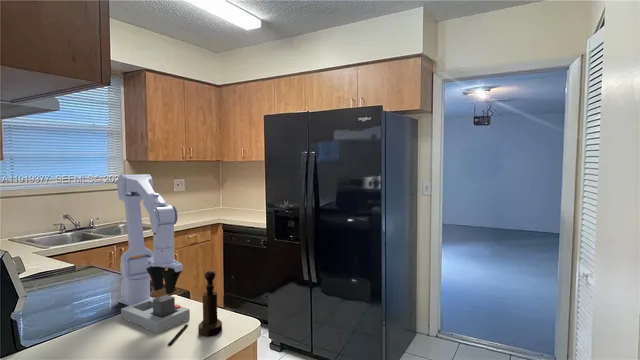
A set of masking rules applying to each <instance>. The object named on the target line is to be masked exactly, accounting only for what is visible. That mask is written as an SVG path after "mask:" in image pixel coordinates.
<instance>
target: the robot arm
mask: <svg viewBox="0 0 640 360" xmlns="http://www.w3.org/2000/svg"><path fill="white" fill-rule="evenodd" d="M116 182H117V183H116V187H117V196H118V199H119V200H121V201H123V203H124V208H125V218H126V219H125V220H126V229H127V241H128V242H127V243H128V249H127V250H126V251H125V252H124V253H122V254H121V256H120V265H119V271H120V274H121V276H122V277H123V278H122V279H121V282H120V299H119V300H118V303H121V304H124V305H126V306H130V305H133V304H136V303H139V302H142V301H145V300H148V299H151V298H153V297H152V296H151V283H150V282H151V281H152V285H153V288H154V291H159V290H163V286H164V287H165V293H166V295H170V294H173V293H174V292H175V289H176V285H177V282H178V279H179V277H180V275H181V274H182V271H183V269H184V268H183V267H184V266H183V263H181V262H179V261H178V260H176V259H175V225H176V224H177V222H178V219H179V218H178V210H177V208H176V206H175V205H171V204H168V203H167V202H166V200H165V199H164V198H163V197H162V195H161V194H160V193H158V192H155V190H154V189H153V184H154V182H153V177H152V175H150V174H149V173H146V174H122V173H121V174H119V176H118V177H117V181H116ZM141 201H142V205H143V206H144V208H145V210H146V211H147V213H148V214H149V223H150V226H151V227H150V230H151V232H152V234H153V236H152V238H153V240H152V243H153V247H152V248H153V249H149V248H147V247H146V246H145V238H144V229H143V227H144V226H143V220H142V219H143V218H142V217H143V216H142V208H141V207H142V206H141ZM152 250H153V251H152ZM136 256H138V257H136ZM166 269H167V270H166Z"/></svg>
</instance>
